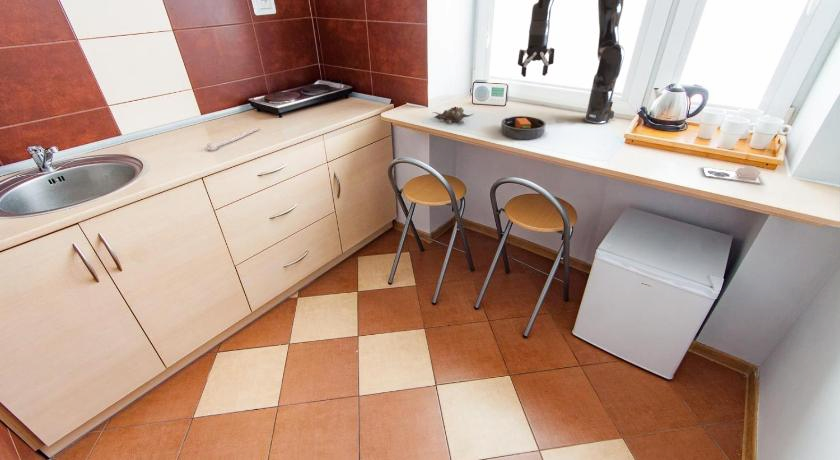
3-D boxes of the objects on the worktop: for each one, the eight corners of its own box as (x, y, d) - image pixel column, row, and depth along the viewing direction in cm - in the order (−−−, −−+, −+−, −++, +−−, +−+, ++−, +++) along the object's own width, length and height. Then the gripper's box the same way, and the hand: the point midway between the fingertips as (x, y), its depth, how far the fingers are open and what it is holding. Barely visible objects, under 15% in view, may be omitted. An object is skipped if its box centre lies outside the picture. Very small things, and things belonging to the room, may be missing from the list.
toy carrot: (513, 126, 175) (514, 116, 173) (522, 125, 175) (523, 115, 173) (520, 135, 165) (521, 125, 162) (530, 135, 165) (532, 124, 162)
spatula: (253, 129, 182) (251, 123, 181) (260, 130, 181) (258, 124, 179) (205, 150, 161) (203, 143, 159) (212, 151, 159) (210, 144, 158)
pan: (536, 125, 178) (538, 115, 175) (550, 139, 162) (551, 128, 160) (496, 126, 177) (497, 116, 175) (506, 141, 162) (507, 130, 159)
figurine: (430, 113, 178) (433, 104, 192) (431, 126, 181) (433, 116, 196) (474, 111, 176) (473, 101, 190) (474, 124, 179) (473, 114, 193)
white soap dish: (755, 175, 129) (761, 163, 127) (760, 184, 124) (766, 171, 122) (703, 168, 135) (708, 156, 132) (705, 176, 130) (710, 164, 127)
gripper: (524, 35, 150) (519, 78, 159) (560, 33, 151) (553, 76, 160) (518, 32, 156) (514, 75, 165) (553, 30, 157) (547, 73, 166)
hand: (534, 75), depth 162 cm, fingers open, 8 cm apart
